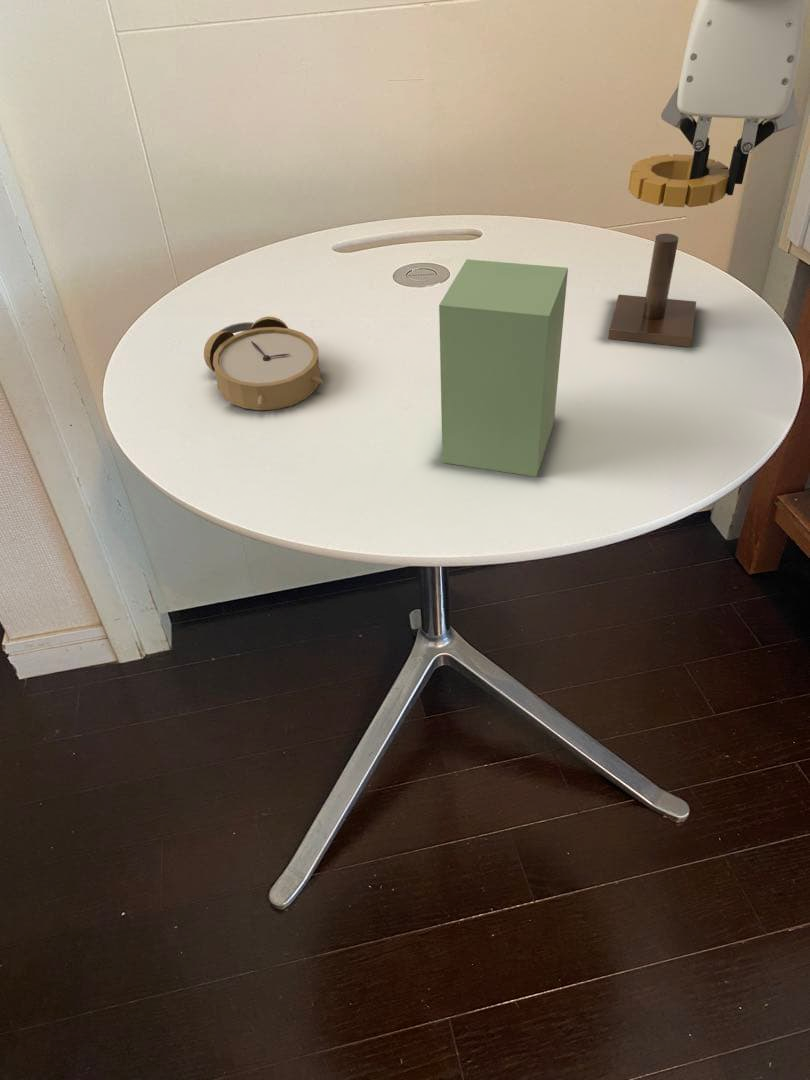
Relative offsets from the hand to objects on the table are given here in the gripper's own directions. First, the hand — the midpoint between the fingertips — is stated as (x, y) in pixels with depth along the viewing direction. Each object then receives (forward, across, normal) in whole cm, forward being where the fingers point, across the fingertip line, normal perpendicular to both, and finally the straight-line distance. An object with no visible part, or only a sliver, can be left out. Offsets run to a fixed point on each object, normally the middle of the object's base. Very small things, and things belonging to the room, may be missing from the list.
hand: (713, 188), depth 83 cm
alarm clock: (+16, +44, +21) cm, 51 cm away
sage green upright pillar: (+15, +16, +27) cm, 35 cm away
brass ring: (-1, +4, 0) cm, 4 cm away
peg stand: (+16, +4, 0) cm, 16 cm away
